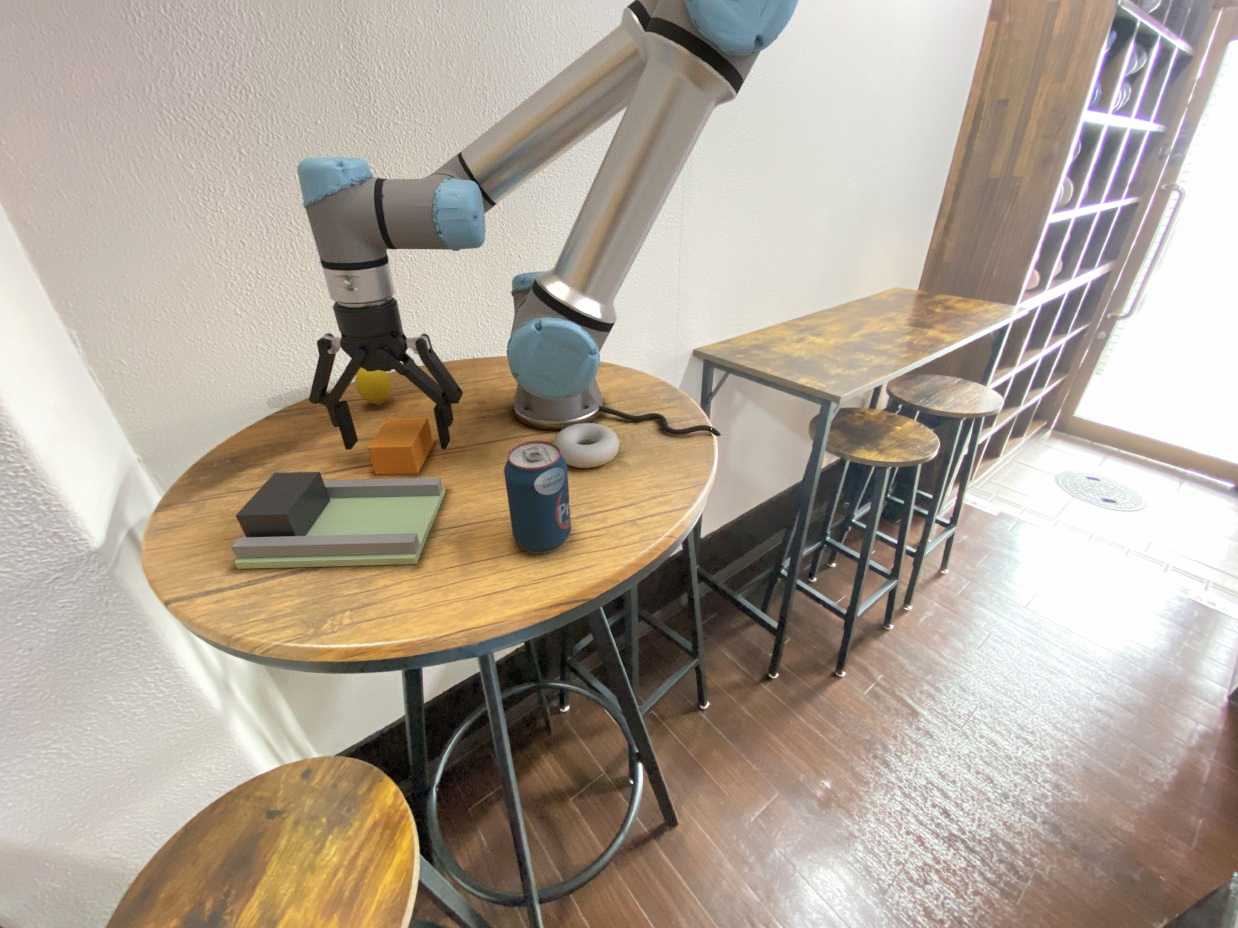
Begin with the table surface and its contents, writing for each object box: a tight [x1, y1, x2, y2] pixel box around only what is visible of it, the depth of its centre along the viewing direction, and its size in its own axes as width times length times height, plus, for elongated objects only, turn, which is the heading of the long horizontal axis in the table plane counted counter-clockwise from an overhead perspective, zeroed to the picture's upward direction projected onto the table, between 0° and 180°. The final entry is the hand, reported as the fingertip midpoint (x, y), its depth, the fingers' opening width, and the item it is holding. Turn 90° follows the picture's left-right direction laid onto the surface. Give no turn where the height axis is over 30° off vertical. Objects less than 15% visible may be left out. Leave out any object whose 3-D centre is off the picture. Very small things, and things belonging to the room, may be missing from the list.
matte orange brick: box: [367, 417, 434, 475], centre depth 78 cm, size 6×9×4 cm
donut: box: [552, 422, 621, 469], centre depth 80 cm, size 10×4×10 cm
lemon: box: [354, 368, 392, 406], centre depth 92 cm, size 6×6×8 cm
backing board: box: [230, 471, 446, 570], centre depth 65 cm, size 20×14×6 cm
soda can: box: [503, 440, 572, 555], centre depth 61 cm, size 7×7×12 cm
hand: (399, 444), depth 78 cm, fingers open, 13 cm apart
